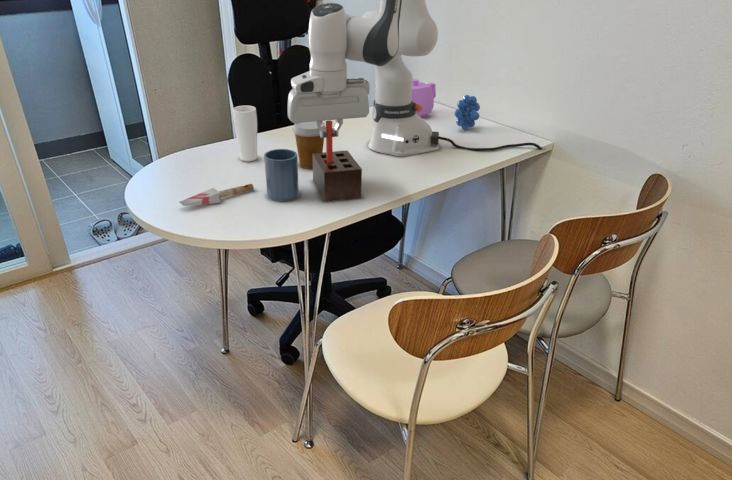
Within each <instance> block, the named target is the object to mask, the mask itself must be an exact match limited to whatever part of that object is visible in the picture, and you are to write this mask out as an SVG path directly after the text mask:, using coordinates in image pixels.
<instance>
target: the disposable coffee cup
mask: <svg viewBox="0 0 732 480" xmlns="http://www.w3.org/2000/svg"><path fill="white" fill-rule="evenodd" d="M293 124H294V125H293V127H292V131H293V134H294V137H295V144H296V149H297V150H296V151H297V157H298V162H299V166H300V167H301V168H304V169H310V170H311V169H313V157H312V154H313V153H324V152H323V151H324V144H325V143H324V142H325V138H321V137H320V130H319V128H318V126H317V125H316V123H315V121H312V122H300V123H293ZM320 126H321V127H322V129H326V123H325V122H324V121H322V125H320Z"/></svg>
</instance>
